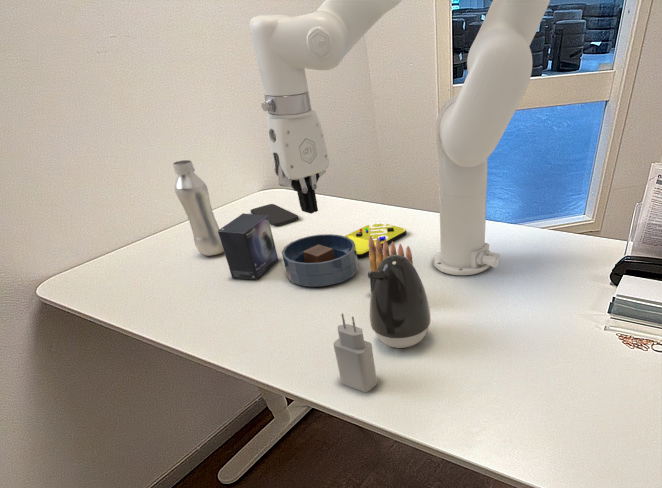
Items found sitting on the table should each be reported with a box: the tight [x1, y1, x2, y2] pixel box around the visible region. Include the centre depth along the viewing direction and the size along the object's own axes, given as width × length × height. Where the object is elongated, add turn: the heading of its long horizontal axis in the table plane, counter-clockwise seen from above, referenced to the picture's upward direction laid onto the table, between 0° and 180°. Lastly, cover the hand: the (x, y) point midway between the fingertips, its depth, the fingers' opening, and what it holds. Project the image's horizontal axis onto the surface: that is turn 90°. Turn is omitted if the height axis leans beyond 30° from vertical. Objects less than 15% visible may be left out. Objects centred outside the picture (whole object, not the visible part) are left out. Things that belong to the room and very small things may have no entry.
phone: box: [250, 203, 299, 227], centre depth 131 cm, size 7×1×15 cm
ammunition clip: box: [368, 236, 414, 292], centre depth 90 cm, size 11×2×12 cm, turn 54°
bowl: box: [281, 233, 360, 288], centre depth 102 cm, size 15×15×6 cm
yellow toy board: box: [344, 222, 407, 260], centre depth 116 cm, size 18×11×2 cm, turn 146°
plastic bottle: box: [172, 159, 224, 257], centre depth 107 cm, size 6×7×20 cm
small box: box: [218, 213, 279, 281], centre depth 103 cm, size 11×6×10 cm, turn 168°
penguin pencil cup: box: [367, 254, 432, 349], centre depth 78 cm, size 10×10×15 cm
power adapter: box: [333, 313, 378, 393], centre depth 71 cm, size 3×5×12 cm, turn 60°
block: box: [303, 244, 335, 263], centre depth 102 cm, size 4×4×4 cm
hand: (309, 211), depth 96 cm, fingers closed
